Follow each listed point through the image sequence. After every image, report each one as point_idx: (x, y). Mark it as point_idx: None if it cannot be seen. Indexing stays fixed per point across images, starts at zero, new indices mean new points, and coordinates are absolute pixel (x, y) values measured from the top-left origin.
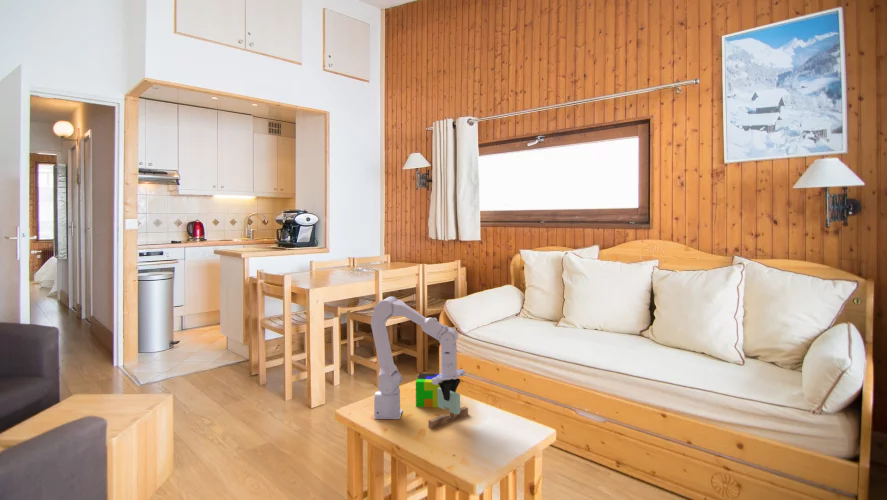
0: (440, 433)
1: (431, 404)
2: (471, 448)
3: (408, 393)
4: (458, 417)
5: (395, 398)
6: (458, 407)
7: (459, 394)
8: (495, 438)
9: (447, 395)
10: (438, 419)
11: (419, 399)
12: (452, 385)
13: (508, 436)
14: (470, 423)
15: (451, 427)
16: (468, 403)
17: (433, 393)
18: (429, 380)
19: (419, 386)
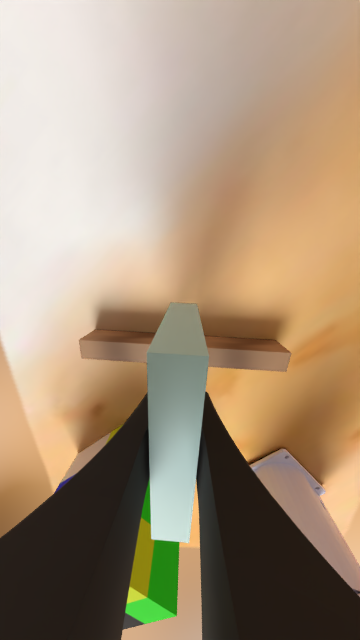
0: (285, 294)
1: None
2: (332, 70)
3: None
4: (142, 333)
5: (330, 557)
6: (181, 311)
7: (156, 350)
8: (165, 54)
9: (222, 427)
10: (252, 350)
11: None
12: (124, 536)
13: (97, 8)
14: (140, 270)
15: (218, 299)
16: (37, 383)
17: None
18: None
19: (167, 565)
